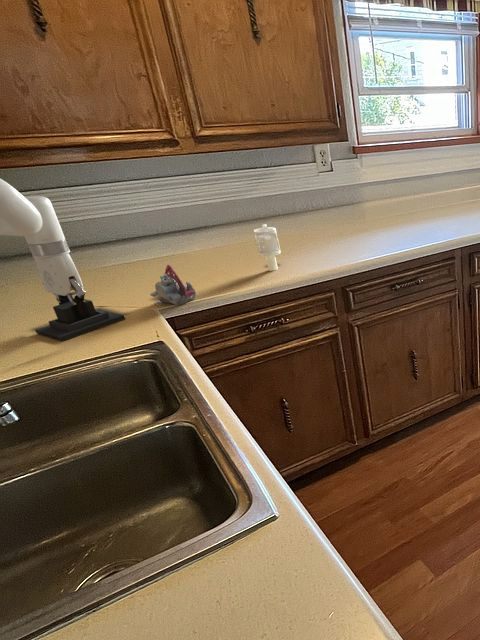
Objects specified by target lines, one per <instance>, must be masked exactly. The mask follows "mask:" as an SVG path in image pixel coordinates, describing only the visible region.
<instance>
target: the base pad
mask: <svg viewBox="0 0 480 640" xmlns="http://www.w3.org/2000/svg"><path fill="white" fill-rule="evenodd" d="M95 310H96V313H97V315H95V316H92V317H89V318H86V319H83V320H80V321H77V322H74V323H71V324H68V323H64V322H60V321H58V318H55V319H52V320H48V325H45V326H41V327H39V328H36V329H34V330H35V333H36V334H37V335H39V336H43V337H46V338H49V339H52V340H56V341H59V342H65V341H67V340H71V339H73V338H76V337H79V336H82V335H85V334H87V333H90V332H93V331H95V330H99V329H102V328H104V327H107V326H110V325H112V324H116V323H119V322H121V321H124V320H126V316H125V314H122V313H118V312H113V311H110V310H106V309H101V308H95Z"/></svg>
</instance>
